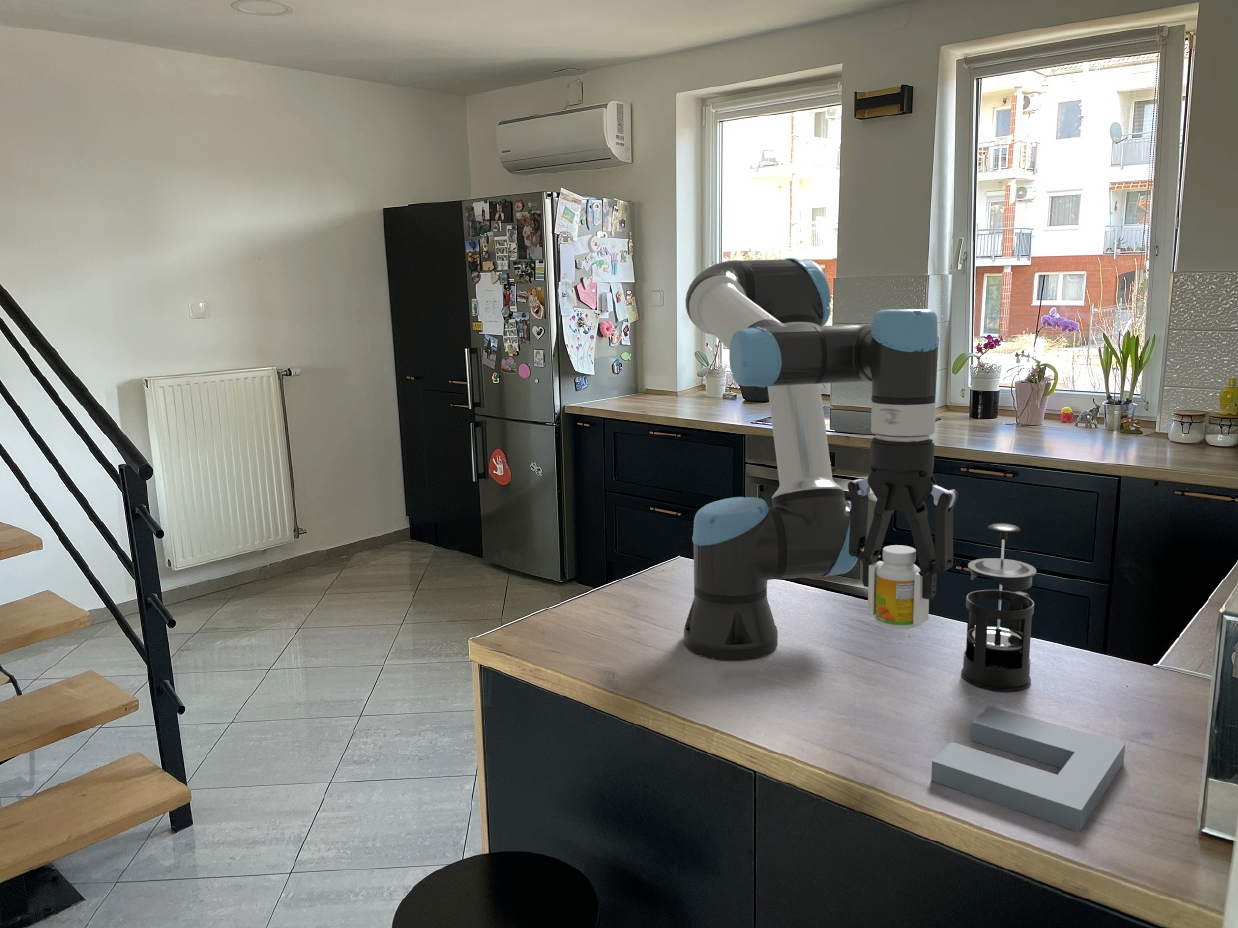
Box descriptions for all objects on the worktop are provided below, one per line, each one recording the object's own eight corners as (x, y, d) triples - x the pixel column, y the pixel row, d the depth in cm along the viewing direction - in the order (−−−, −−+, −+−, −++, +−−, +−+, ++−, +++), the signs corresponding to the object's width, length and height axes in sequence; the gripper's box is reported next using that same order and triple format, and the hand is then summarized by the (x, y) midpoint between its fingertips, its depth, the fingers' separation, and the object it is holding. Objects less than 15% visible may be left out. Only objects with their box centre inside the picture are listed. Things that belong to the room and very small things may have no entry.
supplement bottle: (869, 616, 118) (870, 544, 117) (909, 614, 119) (911, 542, 117) (883, 631, 113) (885, 555, 111) (926, 629, 113) (928, 553, 112)
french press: (1004, 699, 125) (1014, 539, 121) (945, 677, 133) (952, 525, 129) (1050, 677, 132) (1060, 523, 128) (991, 657, 140) (999, 511, 135)
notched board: (931, 780, 106) (932, 760, 105) (987, 723, 119) (988, 705, 118) (1079, 831, 95) (1081, 810, 95) (1123, 762, 109) (1125, 743, 108)
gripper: (820, 434, 115) (818, 609, 119) (964, 446, 103) (957, 641, 107) (849, 427, 120) (846, 595, 125) (989, 438, 108) (981, 624, 112)
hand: (897, 616), depth 116 cm, fingers closed on supplement bottle, 5 cm apart
